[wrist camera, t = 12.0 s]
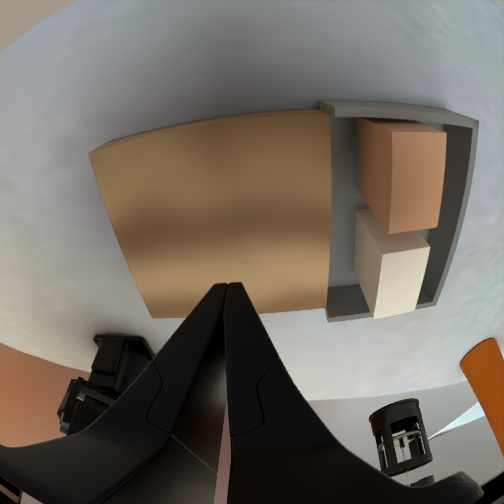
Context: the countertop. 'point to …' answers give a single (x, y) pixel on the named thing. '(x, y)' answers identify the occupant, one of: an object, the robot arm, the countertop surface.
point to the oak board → (224, 209)
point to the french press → (401, 439)
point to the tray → (348, 200)
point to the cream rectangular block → (388, 265)
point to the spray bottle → (488, 383)
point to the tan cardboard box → (401, 171)
